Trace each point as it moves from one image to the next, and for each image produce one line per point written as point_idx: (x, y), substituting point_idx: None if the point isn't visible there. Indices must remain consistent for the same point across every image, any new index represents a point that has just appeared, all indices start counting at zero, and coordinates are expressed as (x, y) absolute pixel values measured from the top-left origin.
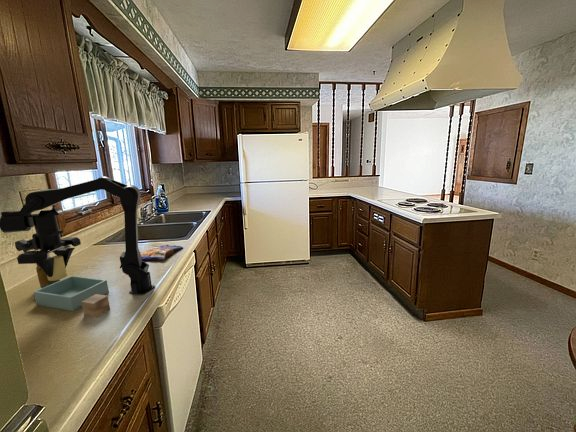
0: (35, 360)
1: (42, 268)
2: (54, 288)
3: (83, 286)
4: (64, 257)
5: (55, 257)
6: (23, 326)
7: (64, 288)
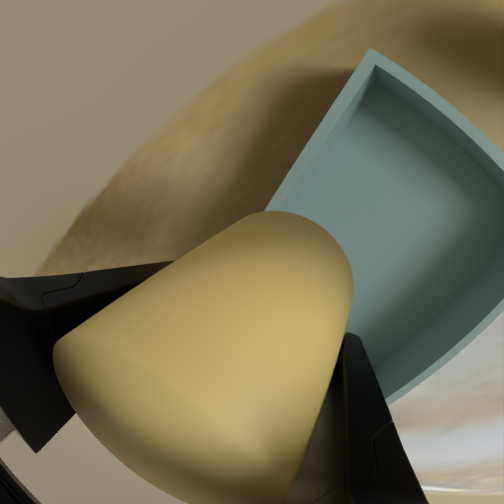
0: (64, 250)
1: (77, 282)
2: (464, 140)
3: (478, 277)
4: (294, 499)
5: (183, 472)
6: (174, 128)
7: (495, 178)
